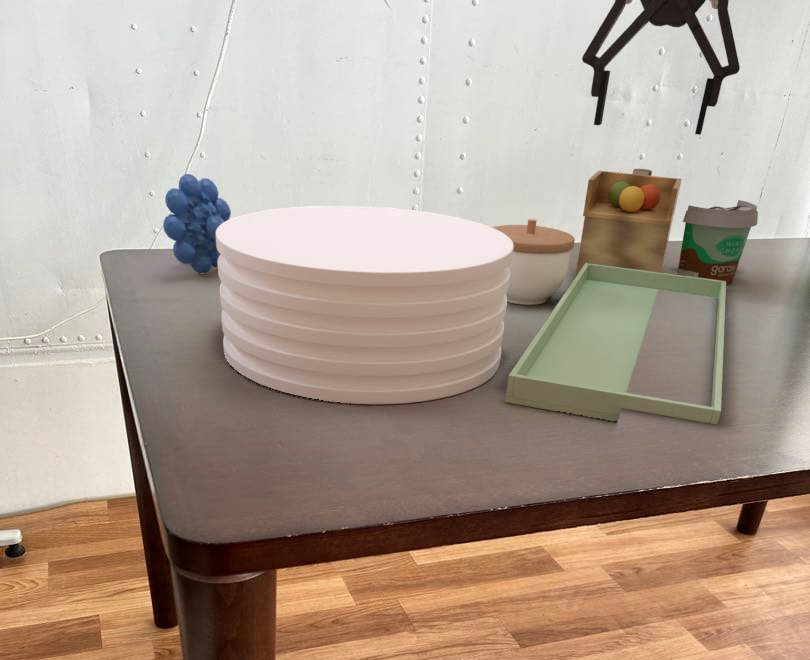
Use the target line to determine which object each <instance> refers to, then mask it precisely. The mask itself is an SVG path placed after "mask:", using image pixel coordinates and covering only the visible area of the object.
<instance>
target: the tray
mask: <svg viewBox="0 0 810 660" xmlns="http://www.w3.org/2000/svg"><path fill="white" fill-rule="evenodd" d="M659 291H664V292H670V293H679V294H687V295H692V296H693V295H694V296H701V297H708V298H715V299H717V312H716V313H717V314H716V330H715V345H714V357H713V358H714V359H713V373H712V376H713V377H712V390H711V405H710V406H708V405H703V404H695V403H689V402H684V401H677V400H673V399H666V398H661V397H654V396H649V395H642V394H638V393H637V394H636V393H630V392H628V390H629V387H630V384H631V380H632V378H633V373H634V371H635V368H636V364H637V361H638V358H639V355H640V352H641V349H642V344H643V342H644V338H645V335H646V332H647V330H648V326H649V323H650V319H651V317H652V313H653V309H654V307H655V303H656V301H657V297H658V294H659ZM726 295H727V285H726V281H721V280H713V279H705V278H698V277H690V276H682V275H677V274H673V273H665V272H661V273H659V272H651V271H644V270H636V269H628V268H621V267H613V266H605V265H598V264H589V263H585V265H584V266H583V268H582V269H581V270H580V272H579V273H578V275H577V276H575V277H574V279H573V281H572V282H571V284H570V285H569V286H568V288H567V289H566V291H565V292H564V294H563V295H562V297H561V298H560V300H559V301H558V302H557V304H556V305H555V307H554V308H553V310H552V311H551V312H550V314H549V315H548V317H547V318H546V320H545V322H544V323H543V324H542V326H541V327H540V329H539V330H538V332H537V333H536V334H535V336H534V338H533V339H532V341H530V343H529V345H528V346H527V348H526V349H525V350H524V352H523V353H522V355H521V357H519V359H518V361H517V362H516V364H515V365H514V367H513V368H512V369H511V371H510V373H509V374H508V375H507V376H508V377H507V384H506V393H505V398H504V399H505V401H504V402H505V403H507V404H513V405H518V406H525V407H529V408H535V409H542V410H547V411H553V412H557V411H560V412H559V413H563V412H566V413H565V414H569V413H572V414H571V415H574V414H575V416H580V415H583V416H582V417H585V416H587V417H586V418H591V417H593V418H592V419H597V418H600V419H599V420H602V419H605V420H604V421H608V420H610V421H609V422H614V421H619V419H620V416H621V412H622V409H626V410H631V411H636V412H641V413H649V414H654V415H659V416H666V417H672V418H678V419H684V420H689V421H695V422H701V423H705V424H711V425H718V424H719V421H720V417H721V414H722V399H723V376H724V375H723V373H724V371H723V370H724V346H725V324H726V323H725V321H726Z"/></svg>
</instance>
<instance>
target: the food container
mask: <svg viewBox="0 0 810 660" xmlns="http://www.w3.org/2000/svg"><path fill="white" fill-rule="evenodd" d="M757 210H758V206H757V205H756V204H754V203H752V202H749V201H746V200H745V201H744V200H740V199H738V200H737V202H736V205H735V206H732V207H731V206H730V207H722V206H712V207H709V208H706V207H701V206H694V205H688V207H687V209H686V210H685V214H684V216H683V220H682V222H683V223H685V224H684V229H683V230H684V231H683V236H682V242H681V249H680V253H679V254H680V256H679V260H678V266H677V267H678V268H677V273H676V275H682V276H690V277H698V278H705V279H713V280H721V281H726V286H729V285H731V284H732V283H733V281H734V278H735V275H736V272H737V269H738V267H739V263H740V261H741V257H742V255H743V253H744V252H743V251H744V249H745V247H746V243H747V240H748V237H749V234H750V232H751V228H752V227H755V226H757V225H758V219H759V211H757Z"/></svg>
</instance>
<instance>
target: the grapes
mask: <svg viewBox="0 0 810 660" xmlns="http://www.w3.org/2000/svg"><path fill="white" fill-rule="evenodd" d="M164 198H165V200H164V202H165V206H166V207H167V208H168V211H169V212H170V214H168V215H167V216H165V218H164V220H163V221H162V222H163V223H162V228H163V231H164V233H165V235H166V236H167V237H168V238H169V239H171V240H172V241H175V242H174V243H173V247H172V252H173V255H174V257H175V258H176V260H177V261H178V262H180V263H182V264H183V265H190V267H191V268H192V269H193V271H194V272H196V273H198V274H199V273H205V274H207V273H208V272H210V271H211V269H212V267H213V268H218V258H219V256H220V253H219V252H218V250H217V247H216V230H217V228H218V227H219V226H220V225H221V224H222V223H224V222H225V221H227V220H229V219H231V216H232V215H231V214H232V210H231V208H230V205H229V204H228V203H227V201H226V200H224V199H223V198H221V197H219V190H218V186H217V185H216V183H214V181H213V180H211V179H209V178H204V177H203V178H201V179H198V178H197V177H196V176H194V175H193V174H192V173H191V174H190V173H185V174H183V175H181V177H180V178H179V181H178V188H170V189H169V190H167V192H166V194H165V197H164ZM171 213H172V214H171Z"/></svg>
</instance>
